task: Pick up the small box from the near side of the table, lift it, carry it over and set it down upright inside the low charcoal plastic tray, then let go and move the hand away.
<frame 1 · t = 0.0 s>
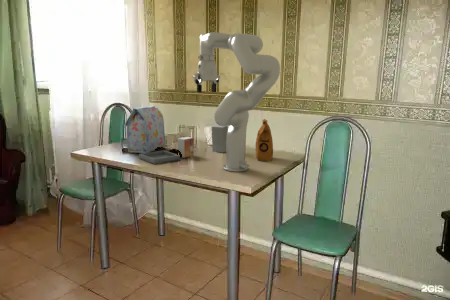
hand: (206, 92, 189), 37 cm above the table, tool pointing down, fingers open, 9 cm apart
lunch bag: (145, 150, 218), on the table
tray: (159, 159, 195), on the table
small box: (185, 156, 204), on the table
skincare box: (219, 151, 218), on the table
coffee package: (263, 159, 201), on the table
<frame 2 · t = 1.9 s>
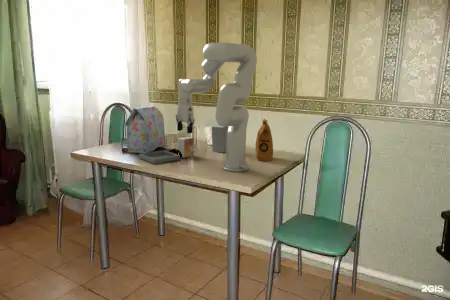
hand: (184, 131, 202), 14 cm above the table, tool pointing down, fingers open, 9 cm apart
nothing on the table moved.
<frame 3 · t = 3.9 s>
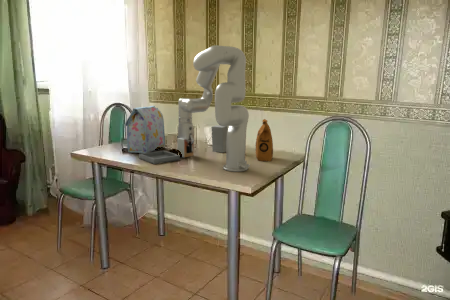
hand: (185, 151, 204), 3 cm above the table, tool pointing down, fingers closed on small box, 6 cm apart
small box: (185, 156, 204), on the table, touching gripper
everything else where it was.
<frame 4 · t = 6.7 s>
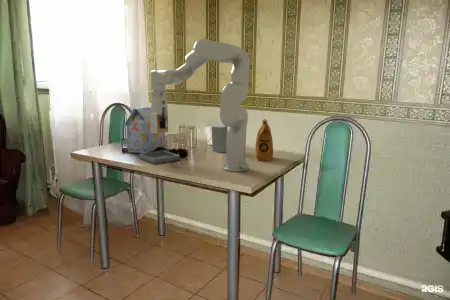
hand: (159, 127, 192), 18 cm above the table, tool pointing down, fingers closed on small box, 6 cm apart
small box: (159, 132, 192), point 15 cm above the table, touching gripper
everything else where it was.
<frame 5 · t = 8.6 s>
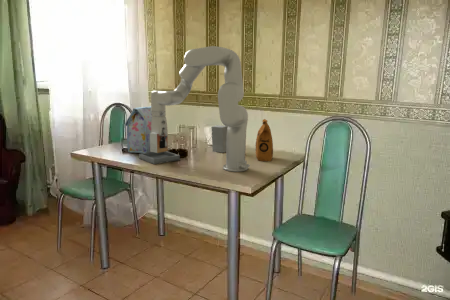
hand: (159, 146, 194), 7 cm above the table, tool pointing down, fingers closed on small box, 6 cm apart
small box: (159, 151, 195), point 4 cm above the table, touching gripper
everything else where it was.
when the fingers open (5 cm above the table, at t = 10.0 s): small box drops 1 cm, resting on tray.
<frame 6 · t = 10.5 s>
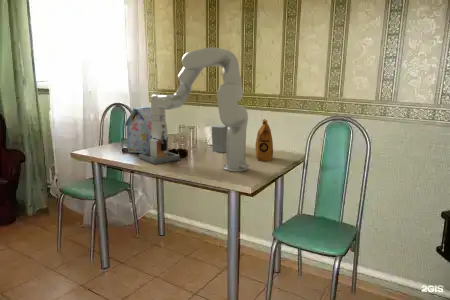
hand: (159, 149, 194), 6 cm above the table, tool pointing down, fingers open, 9 cm apart
small box: (159, 158, 195), resting on tray
everything else where it was.
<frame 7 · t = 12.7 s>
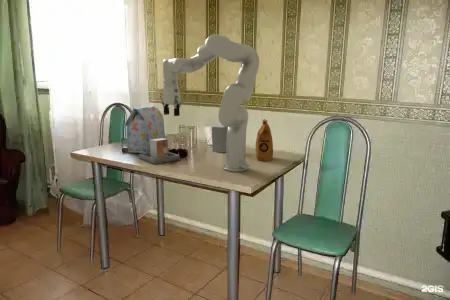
hand: (171, 115, 193), 24 cm above the table, tool pointing down, fingers open, 9 cm apart
nothing on the table moved.
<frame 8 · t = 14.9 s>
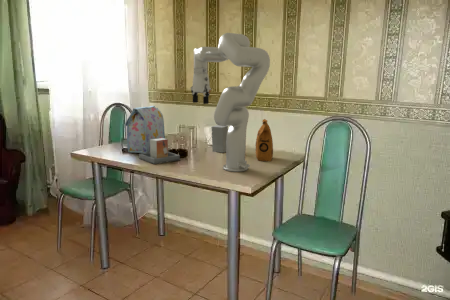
hand: (200, 103, 197), 30 cm above the table, tool pointing down, fingers open, 9 cm apart
nothing on the table moved.
at the end: small box inside the target area on the tray (0.1 cm from its centre), point 0.4 cm above the tray's base; small box tilted 0°; the gripper is holding nothing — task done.
